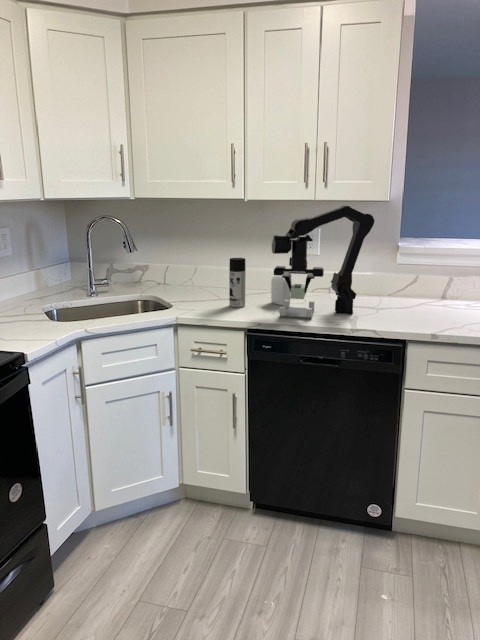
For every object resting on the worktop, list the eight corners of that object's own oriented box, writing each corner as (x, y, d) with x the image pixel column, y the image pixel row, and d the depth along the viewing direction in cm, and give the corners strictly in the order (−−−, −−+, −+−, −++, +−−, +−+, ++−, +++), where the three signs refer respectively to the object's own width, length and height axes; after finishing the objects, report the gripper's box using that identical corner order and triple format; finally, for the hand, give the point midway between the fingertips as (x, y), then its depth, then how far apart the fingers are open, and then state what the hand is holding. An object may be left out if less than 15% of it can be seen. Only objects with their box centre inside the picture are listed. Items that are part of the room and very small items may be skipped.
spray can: (226, 305, 217) (226, 257, 212) (240, 303, 220) (241, 256, 215) (233, 308, 212) (233, 259, 207) (248, 306, 215) (248, 258, 210)
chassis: (314, 310, 208) (314, 301, 207) (311, 319, 194) (311, 309, 193) (284, 309, 210) (284, 299, 209) (279, 318, 196) (279, 307, 195)
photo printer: (269, 302, 223) (270, 274, 220) (277, 301, 225) (278, 273, 222) (282, 306, 215) (283, 277, 212) (291, 305, 217) (292, 276, 214)
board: (305, 294, 204) (306, 282, 203) (303, 299, 196) (303, 286, 194) (293, 293, 205) (293, 282, 204) (290, 298, 197) (290, 286, 196)
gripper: (325, 251, 202) (323, 290, 206) (277, 250, 206) (277, 288, 210) (323, 254, 191) (322, 296, 195) (273, 253, 195) (273, 294, 199)
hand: (298, 293), depth 200 cm, fingers closed on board, 5 cm apart
